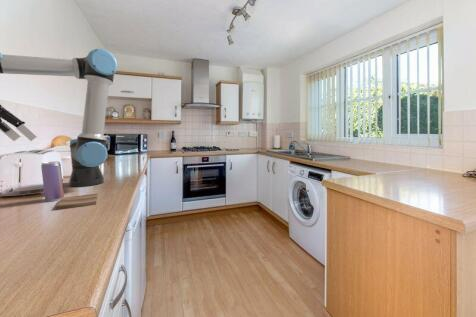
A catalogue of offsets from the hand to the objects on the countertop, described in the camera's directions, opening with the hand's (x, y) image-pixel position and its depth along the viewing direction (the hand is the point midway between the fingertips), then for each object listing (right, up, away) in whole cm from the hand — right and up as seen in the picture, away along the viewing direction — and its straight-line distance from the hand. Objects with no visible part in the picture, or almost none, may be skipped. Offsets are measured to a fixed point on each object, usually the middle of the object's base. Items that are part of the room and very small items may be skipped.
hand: (26, 138), depth 88 cm
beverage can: (+7, -24, +5) cm, 26 cm away
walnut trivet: (+19, -24, +1) cm, 31 cm away
